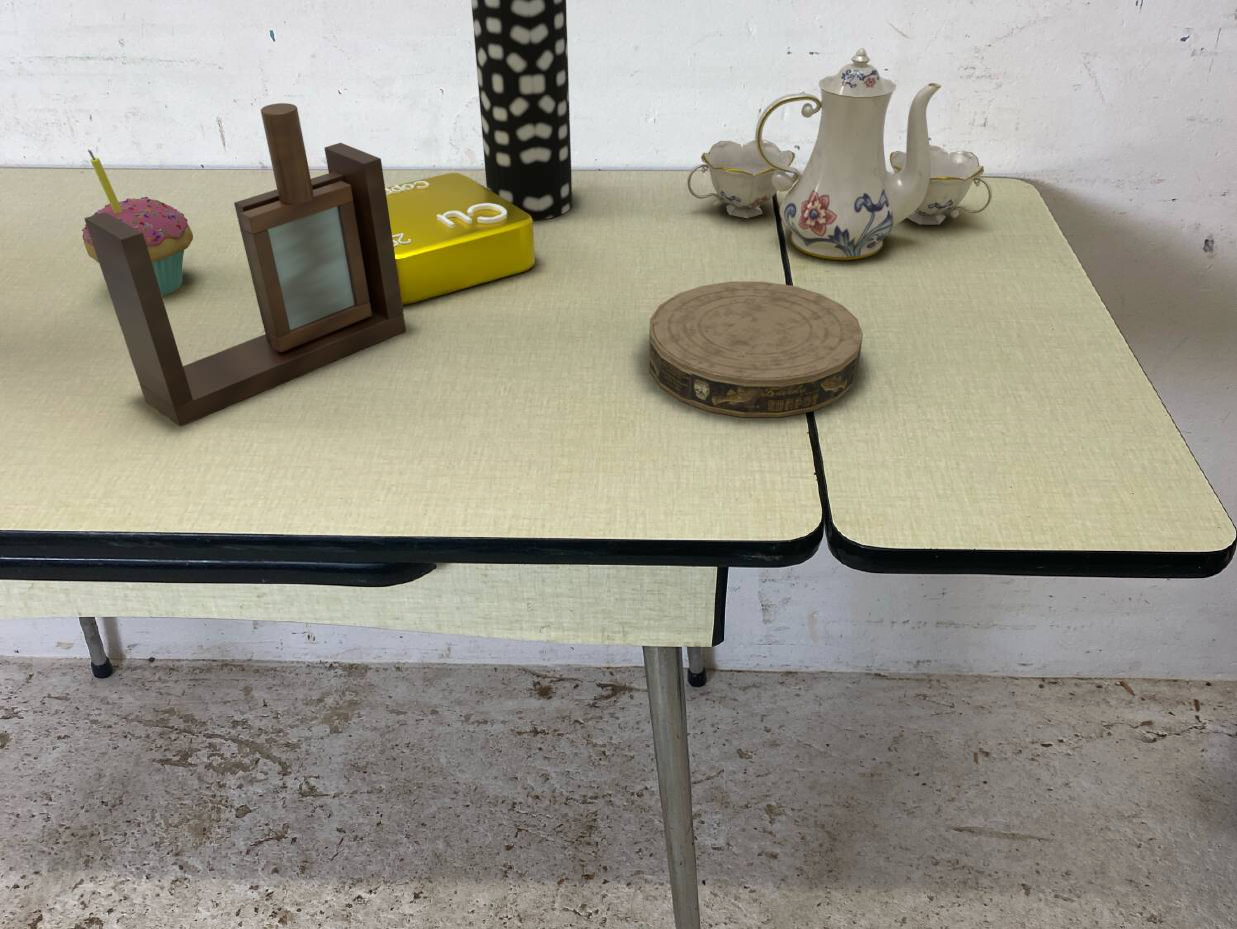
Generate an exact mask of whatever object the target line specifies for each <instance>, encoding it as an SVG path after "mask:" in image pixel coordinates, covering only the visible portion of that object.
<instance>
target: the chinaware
mask: <svg viewBox="0 0 1237 929" xmlns="http://www.w3.org/2000/svg"><path fill="white" fill-rule="evenodd" d="M870 61H871V58H870V57H869V55H868V53H867V51H866V49H865V48H863V47H861V48H859V49H858V50H857V51H856V53H855V54H854V55H853V56H852V57H851V62H852V63H848V64H846V65H844V66H842V67H841V68H840V69H839V71H838V73H837V74H834V75H827V76H825V77H824V78H822V79H819V81H818V87H819V88H820V98H821V99H819V98H818V97H817V96H816V95H814V94H812V93H807V92H805V93H801V92H799V93H790V94H786V95H782V96H780V97H778V98H776V99H775V100H773V101H771V103H770V104H769V105H767V106H766V107H765V109H764V110H763V112H762V113H761V115H760V116H759V118H758V121H757V123H756V127H755V134H754V140H751V141H748V142H747V143H744V144H740V143H737V142H735V141H732V140H720V141H718V142H716V143H714V144H712V146H711V148H710V149H709V151H708V152H705V151H704V152H702V155H701V156H700V159H701V162H702V163H703V164H702V163H701V164H697V165H695V166H694V167H693V168H692V169H691V170H690V172H689V174H688V177H687V182H686V183H687V189H688V191H689V193H690V194H691V195H692V196H693V197H695V198H696V199H700V200H702V199H706V198H708V197H715V198H716V199H715V200H714V203H713V205H714V206H715V207H720V206H721V205H722V204H723V202H725V203H727V204H728V205H726V206H725V208H726V212H727V213H728V215H729V216H734V217H738V218H745V219H749V218H753V217H757V216H759V215H763V211H762V208H760V206H762V205H764V204H766V203H767V202H768V201H770V200H772V198H773V197H775V195H776V194H777V192H778V191H779V192H781V193H782V192H783V193H784V192H787V194H786V195H785V197H784V198H783V200H782V202H781V204H780V206H779V215H780V218H781V219H782V221H783V223H784V225H785V226H786V228H788V229H789V230H790V231H791V234H790V243H791V244H792V245H793V247H795V249H797V250H798V251H800V252H801V253H803V254H805V255H809V256H812V257H814V258H815V257H816V258H819V259H824V260H831V261H853V260H861V259H865V258H868V257H871V256H874V255H876V254H877V253H879V252H880V251H881V250H882V248H883V247H884V241H883V240H884V239H885V238H886V237H887V236H888V235H890V233H891V232H892V230H893V228H894V227H896V226H897V225H899V224H900V223H901V222H903V221H904V220H905V219H908V220H910V221H911V222H914V223H916V224H917V225H941V223H943V221H944V220H945V219H946V215H945V213H947V212H949V216H950V217H951V218H953V219H956V218H958V217H959V215H960V213H959V210H958V209H960V210H963V211H966V212H967V213H970V214H979V213H981V212H983V211H985V210H986V209H987V208H988V206H989V205H990V204H991V201H992V198H993V190H992V186H991V184H990V183H989V182H988V181H987V180H986V179H984V178H983V177H982V178H981V176H982V175H983V174H984V172H985V168H984V165H980V161H979V157H978V156H977V155H975V154H974V153H973V152H972V151H966V150H960V151H959V150H958V151H953V152H950V153H949V151H946V150H945V149H943V148H941V147H940V146H938V145H932V144H930V138H929V129H928V120H927V109H928V104H929V103H930V100H931V99H932V97H934V95H935V94H936V93H937V92H938V91H939V90H940V88H942V85H941V84H939V83H937V82H935V83H934V82H931V83H928V84H926V85H925V86H924V87H922V88H921V89H920V90H919V91H918V92H916V94H915V96H914V97H913V99H912V102H911V103H910V107H909V111H908V116H907V126H906V143H905V144H906V145H905V149H906V150H905V152H904V151H901V150H896V151H892V152H890V154H889V164H890V166H891V169H892V170H893V173H891V172H889V171H888V170H887V166H886V156H885V144H884V141H885V140H884V138H885V137H884V136H885V135H884V134H885V125H886V124H885V123H886V117H887V111H888V107H889V105H890V101H891V99H892V97H893V94H894V92H895V91H896V90H897V84H896V83H894V82H893V81H892V80H891V79H887V78H884V77H882V76H880V73H879V70H878V69H877V68H876V67H875V66H874V65H872V64H869V62H870ZM801 101H811V102H813V103H815V105H816V106H815V108H813V105H812V104H811V103H810V102H806V103H804V104H803V106H802V108H801V112H800V113H801V115H802V117H803V118H806V119H809V118H811V117H812V116H813V115H815V114H817V113H819V112H820V111H821V112H820V120H819V126H818V132H817V136H816V140H815V143H814V145H813V148H812V151H811V154H810V155H809V159H808V161H807V163H806V165H805V167H804V168H803V171H802V173H801V172H800V170H799V169H798V168H796V167H794V166H791V165H792V163H793V162H794V161H795V158H796V153H795V152H793V151H792V150H781V149H780V148H779V147H778V145H776V144H775V143H774V142H771V141H768V140H766V139H763V130H764V127H765V124H766V122H767V120H768V118H769V117H770V115H772V114H773V113H774V111H776V110H777V109H778V108H779V107H781V106H783V105H785V104H788V103H793V102H801ZM698 169H701V173H702V174H705V173H706V171H707V170H708V171H709V175H710V179H711V183H712V186H713V188H714V191H715V192H716V193H715V192H709V193H707V194H701V195H700V194H697V193H696V192H695V191H694V190H693V189H692V186H691V179H692V176H693V174H694V173H695V172H696V171H697V170H698ZM787 173H791V174H793V176H792V177H791V176H790V175H789V174H787ZM981 183H982V184H984V186H985V187H986V189H987V193H988V198H987V201H986V203H985V204H984V205H983V206H982V207H980V208H978V209H971V208H968V207H967V206H965V205H959V204H960V203H961V202H962V201H963V200H964V198H965V197H966V195H967V194H968V192H969V191H970V188H971V186H972V185H973V184H974V185H975V187H976V188H977V187H979V186H980V185H981Z"/></svg>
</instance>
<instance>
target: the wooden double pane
mask: <svg viewBox="0 0 1237 929" xmlns="http://www.w3.org/2000/svg"><path fill="white" fill-rule="evenodd" d="M323 149H324V154H325V160H326V166H327V171H328V173H325V174H322V175H319V176H315V177H311V183H312V188H313V190H315V189H318V188H321V187H324V186H327V185H330V184H334V183H337V182H340V181H342V182H345V183H347V184H349V185H351V190H352V197H353V203H354V209H355V215H356V221H357V227H358V233H359V239H360V245H361V251H362V257H363V263H364V269H365V275H366V281H367V287H368V293H369V300H370V301H369V302H370V305H371V311H372V316H370V317H368V318H365V319H363V320H360V321H358V322H355V323H353V324H350V325H348V326H345V327H343V328H341V329H338V330H336V331H333V332H331V333H328V334H326V335H323V336H321V337H318V338H316V339H313V340H311V341H308V342H306V343H304V344H301V345H299V346H296V347H294V348H291V349H289V350H286V351H284V352H279V351H277V350H275V349H274V348H273V347H272V344H271V340H270V336H269V332H268V328H267V324H266V320H265V315H264V311H263V307H262V303H261V299H260V294H259V290H258V286H257V282H256V277H255V273H254V269H253V265H252V261H251V256H250V252H249V248H248V244H247V240H246V235H245V231H244V226H243V222H242V218H241V213H242V212H245V211H248V210H252V209H255V208H258V207H261V206H264V205H267V204H271V203H274V202H277V201H280V200H279V196H278V191H277V188H276V189H274V190H269V191H267V192H263V193H261V194H258V195H253V196H251V197H248V198H247V197H246V198H244V199H241V200H238V201H234V203H233V205H234V209H235V213H236V218H237V222H238V226H239V230H240V234H241V238H242V239H241V240H242V242H243V247H244V252H245V255H246V259H247V264H248V267H249V272H250V276H251V280H252V285H253V289H254V292H255V296H256V301H257V306H258V309H259V313H260V318H261V322H262V326H263V330H264V334H262V335H259V336H256V337H255V338H251V339H249V340H247V341H243V342H242V343H239V344H236V345H233V346H231V347H229V348H226V349H223V350H221V351H218V352H216V353H213V354H210V355H208V356H205V357H203V358H201V359H198V360H196V361H192V362H190V363H188V364H185V365H183V362H182V358H181V355H180V351H179V349H178V345H177V342H176V338H175V335H174V332H173V328H172V325H171V322H170V319H169V315H168V312H167V309H166V306H165V302H164V299H163V296H162V295H161V292H160V288H159V285H158V282H157V278H156V275H155V272H154V268H153V265H152V262H151V258H150V255H149V252H148V248H147V245H146V242H145V238H144V235H143V233H142V232H140V231H139V230H137V229H135V228H133V227H132V226H130V225H128V224H126V223H124V222H123V221H121V220H119V219H117V218H115V217H114V216H112V215H110V214H108V213H107V212H104V213H100V214H97V215H94V214H92V215H93V216H92V215H90V216H86V217H84V222H85V224H86V225H87V228H88V231H89V234H90V237H91V240H92V243H93V246H94V249H95V252H96V255H97V258H98V261H99V263H98V264H99V267H100V270H101V273H102V276H103V278H104V282H105V284H106V285H105V286H106V288H107V292H108V293H109V297H110V300H111V303H112V306H113V309H114V312H115V315H116V318H117V320H118V324H119V327H120V329H121V333H122V336H123V339H124V342H125V344H126V347H127V350H128V351H127V352H128V354H129V356H130V359H131V363H132V365H133V369H134V371H135V374H136V378H137V380H138V383H139V388H140V389H141V390H140V391H141V393H142V396H143V398H144V401H145V402H146V404H148V405H150V406H151V407H152V408H153V409H155V410H157V411H158V412H159V413H160V414H163V416H165V417H166V418H168V419H169V420H170V421H172V422H173V423H174V424H176V425H177V426H179V427H181V426H184V425H186V424H190V423H191V422H194V421H196V420H198V419H200V418H203V417H205V416H208V415H210V414H213V413H214V412H218V411H220V410H222V409H225V408H226V407H229V406H231V405H233V404H236V403H238V402H240V401H243V400H246V399H248V398H250V397H253V396H255V395H258V394H260V393H262V392H264V391H266V390H269V389H271V388H274V387H276V386H278V385H281V384H284V383H286V382H289V381H290V380H293V379H295V378H298V377H300V376H302V375H305V374H307V373H309V372H311V371H314V370H317V369H319V368H321V367H323V366H325V365H328V364H331V363H333V362H335V361H338V360H340V359H342V358H345V357H347V356H350V355H352V354H354V353H357V352H359V351H362V350H364V349H367V348H369V347H370V346H373V345H375V344H378V343H380V342H382V341H385V340H388V339H390V338H393V337H395V336H397V335H400V334H401V333H404V332H406V331H407V329H406V322H405V321H406V320H405V315H404V307H403V305H402V300H401V293H400V287H399V280H398V273H397V266H396V259H395V252H394V245H393V238H392V231H391V225H390V218H389V211H388V204H387V197H386V190H385V187H386V184H385V183H386V182H385V178H384V170H383V165H382V164H383V163H382V158H380V157H378V156H376V155H373V154H370V153H367V152H366V151H363V150H361V149H357V148H355V147H353V146H350V145H347V144H345V143H343V142H338V143H335V144H332V145H328V146H324V148H323Z"/></svg>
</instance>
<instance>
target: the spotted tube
mask: <svg viewBox="0 0 1237 929" xmlns="http://www.w3.org/2000/svg"><path fill="white" fill-rule="evenodd" d="M470 2H471V16H472V27H473V40H474V52H475V61H476V62H475V64H476V75H477V77H476V78H477V89H478V99H479V112H480V113H479V114H480V124H481V125H480V126H481V137H482V147H483V148H482V149H483V161H484V172H485V174H484V175H485V185H486V186H485V187H486V188H487V189H489V190H490V191H492V192H494V193H495V194H497V195H498V196H500V197H502V198H503V199H505V200H507V201H508V202H510V203H511V204H513V205H515V206H516V207H518V208H520V209H521V210H523V211H524V212H526V213H528V214H529V215H530V216H531V218H532V220H533V221H541V220H547V219H551V218H556V217H558V216H562V215H563V214H565V213H567V212H568V211H569V210H570V209H571V208H572V207H573V187H572V186H573V182H572V181H573V178H572V147H571V146H572V145H571V115H570V114H571V113H570V82H569V48H568V14H567V13H568V12H567V0H470Z"/></svg>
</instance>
